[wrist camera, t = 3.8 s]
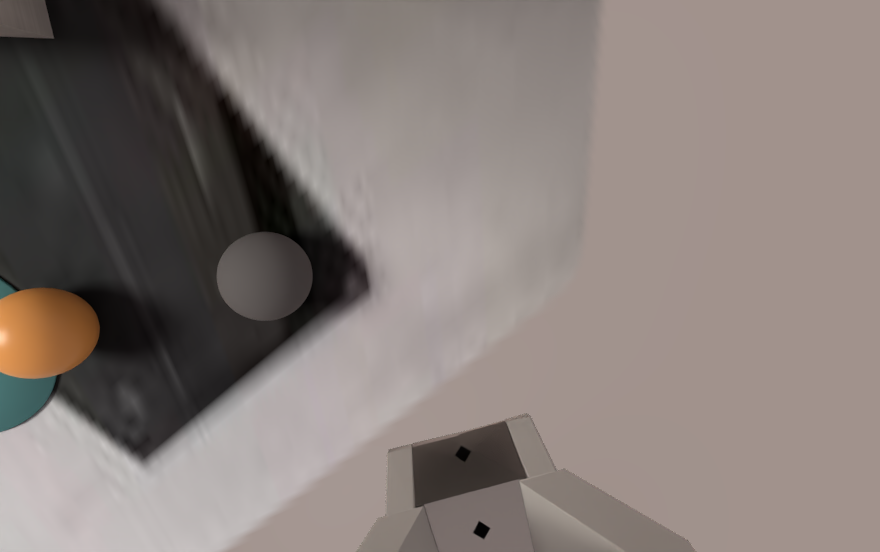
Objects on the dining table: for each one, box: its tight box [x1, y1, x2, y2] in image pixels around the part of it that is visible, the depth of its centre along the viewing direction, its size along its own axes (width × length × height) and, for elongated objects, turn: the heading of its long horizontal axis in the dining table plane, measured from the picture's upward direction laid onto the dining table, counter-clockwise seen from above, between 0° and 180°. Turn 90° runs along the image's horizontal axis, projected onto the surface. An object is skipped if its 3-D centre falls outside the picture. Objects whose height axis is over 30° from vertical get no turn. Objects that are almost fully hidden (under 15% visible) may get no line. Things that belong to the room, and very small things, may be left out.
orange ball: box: [0, 288, 100, 379], centre depth 26 cm, size 6×6×6 cm
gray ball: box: [217, 232, 313, 321], centre depth 26 cm, size 6×6×6 cm
